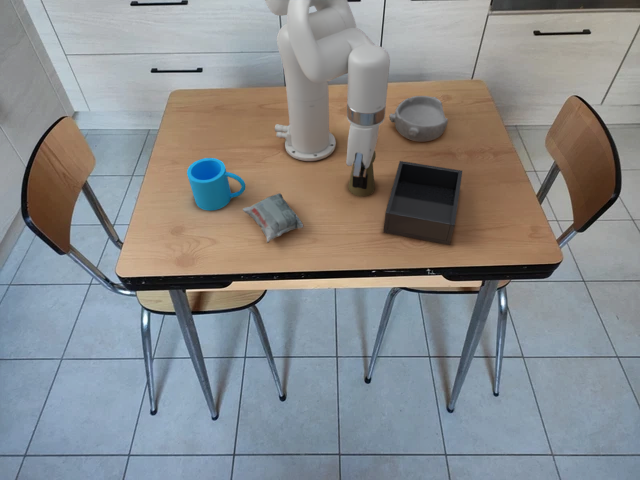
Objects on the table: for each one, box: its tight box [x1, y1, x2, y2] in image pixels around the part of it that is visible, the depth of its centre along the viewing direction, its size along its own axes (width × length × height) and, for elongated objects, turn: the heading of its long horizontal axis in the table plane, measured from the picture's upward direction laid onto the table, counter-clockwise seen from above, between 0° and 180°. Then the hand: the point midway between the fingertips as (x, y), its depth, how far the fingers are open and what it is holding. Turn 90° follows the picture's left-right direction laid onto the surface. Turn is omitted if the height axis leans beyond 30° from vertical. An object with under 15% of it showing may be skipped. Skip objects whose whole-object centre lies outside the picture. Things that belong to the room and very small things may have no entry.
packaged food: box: [242, 192, 304, 244], centre depth 103 cm, size 9×12×5 cm
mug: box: [186, 157, 247, 211], centre depth 107 cm, size 12×8×8 cm
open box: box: [382, 160, 463, 246], centre depth 104 cm, size 14×17×6 cm
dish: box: [388, 95, 449, 143], centre depth 124 cm, size 14×14×5 cm
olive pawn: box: [348, 150, 377, 197], centre depth 107 cm, size 6×6×11 cm
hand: (362, 179), depth 110 cm, fingers closed on olive pawn, 4 cm apart
